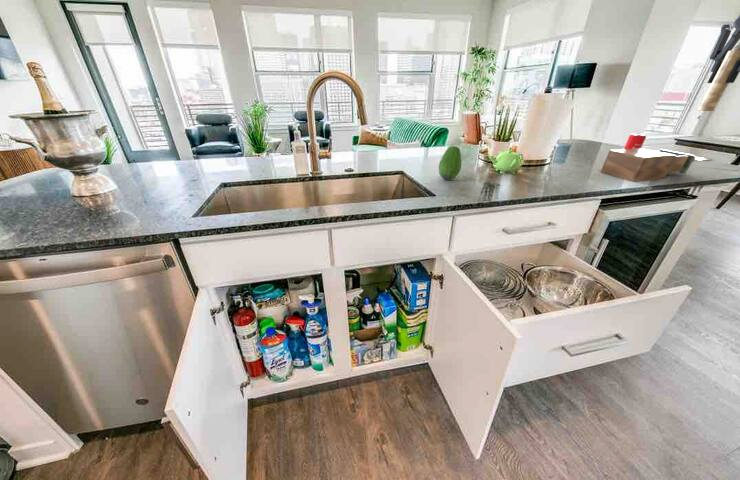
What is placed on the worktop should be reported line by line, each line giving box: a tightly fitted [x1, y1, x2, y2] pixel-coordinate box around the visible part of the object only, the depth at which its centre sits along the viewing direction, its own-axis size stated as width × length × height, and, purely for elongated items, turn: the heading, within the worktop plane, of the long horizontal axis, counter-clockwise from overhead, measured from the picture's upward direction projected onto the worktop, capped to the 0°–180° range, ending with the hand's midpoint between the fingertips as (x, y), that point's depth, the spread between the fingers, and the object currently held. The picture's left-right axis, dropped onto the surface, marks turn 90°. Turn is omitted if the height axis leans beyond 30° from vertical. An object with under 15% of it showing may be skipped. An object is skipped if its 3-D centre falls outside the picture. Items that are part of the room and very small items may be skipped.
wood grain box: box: [600, 147, 677, 182], centre depth 101 cm, size 14×12×8 cm
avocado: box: [438, 145, 463, 181], centre depth 98 cm, size 8×8×12 cm
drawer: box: [653, 148, 697, 175], centre depth 104 cm, size 18×11×7 cm, turn 103°
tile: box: [694, 155, 713, 162], centre depth 123 cm, size 7×7×1 cm
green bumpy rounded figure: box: [488, 149, 524, 175], centre depth 107 cm, size 11×12×8 cm
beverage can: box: [623, 132, 647, 149], centre depth 115 cm, size 5×5×12 cm
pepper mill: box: [697, 44, 740, 112], centre depth 94 cm, size 4×4×20 cm
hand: (720, 82), depth 95 cm, fingers closed on pepper mill, 4 cm apart
